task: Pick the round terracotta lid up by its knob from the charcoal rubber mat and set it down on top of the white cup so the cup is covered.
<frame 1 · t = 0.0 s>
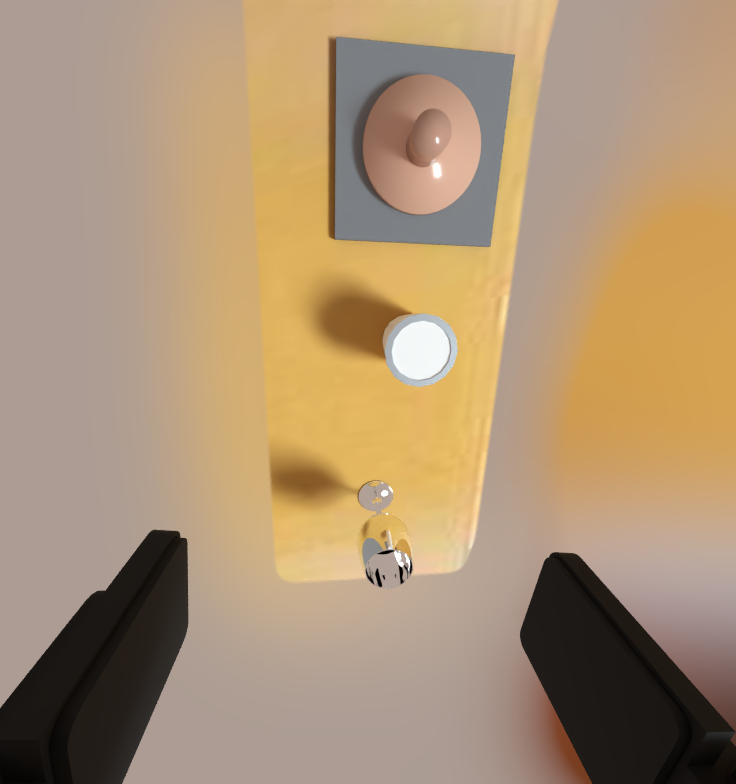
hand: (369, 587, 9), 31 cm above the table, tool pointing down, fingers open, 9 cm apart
mat: (419, 153, 34), on the table
lid: (420, 151, 33), point 1 cm above the table, touching mat
white cup: (406, 339, 39), on the table
wineglass: (375, 495, 45), on the table
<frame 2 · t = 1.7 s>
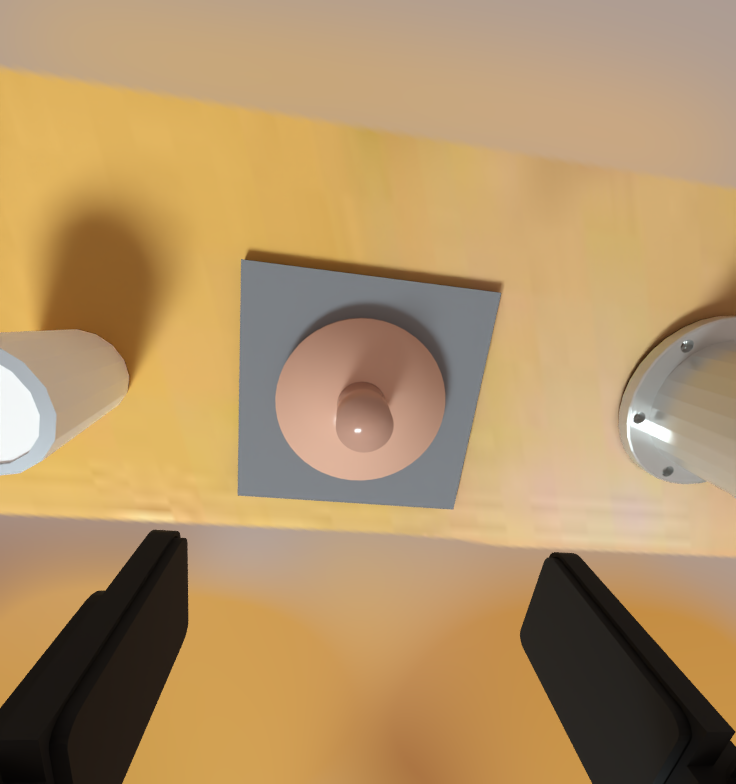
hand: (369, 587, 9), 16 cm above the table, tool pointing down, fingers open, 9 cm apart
mat: (360, 397, 24), on the table
lid: (361, 400, 24), point 1 cm above the table, touching mat
white cup: (85, 372, 23), on the table
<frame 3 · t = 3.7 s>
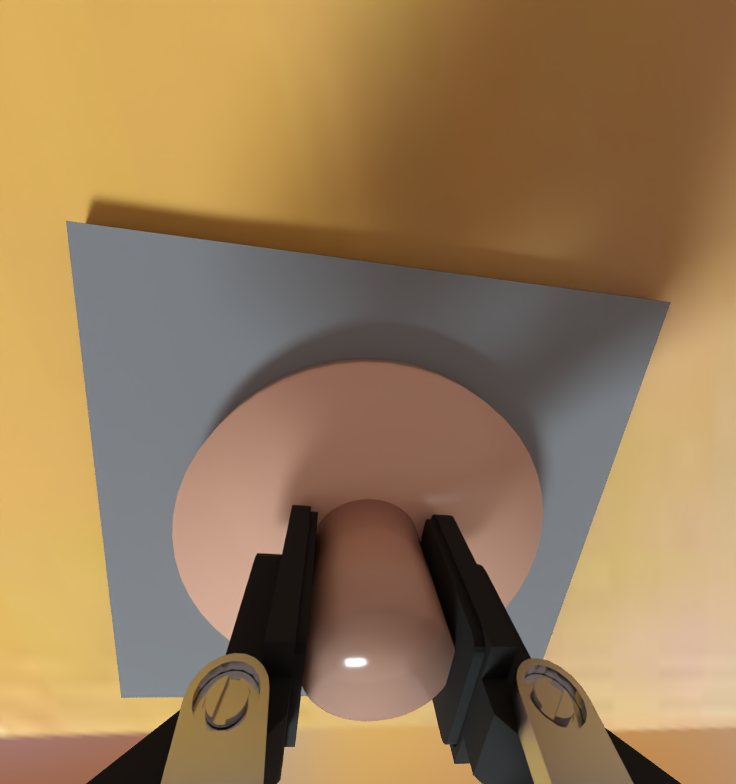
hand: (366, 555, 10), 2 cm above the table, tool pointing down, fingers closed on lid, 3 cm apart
mat: (361, 512, 12), on the table
lid: (363, 523, 11), point 1 cm above the table, touching gripper, mat
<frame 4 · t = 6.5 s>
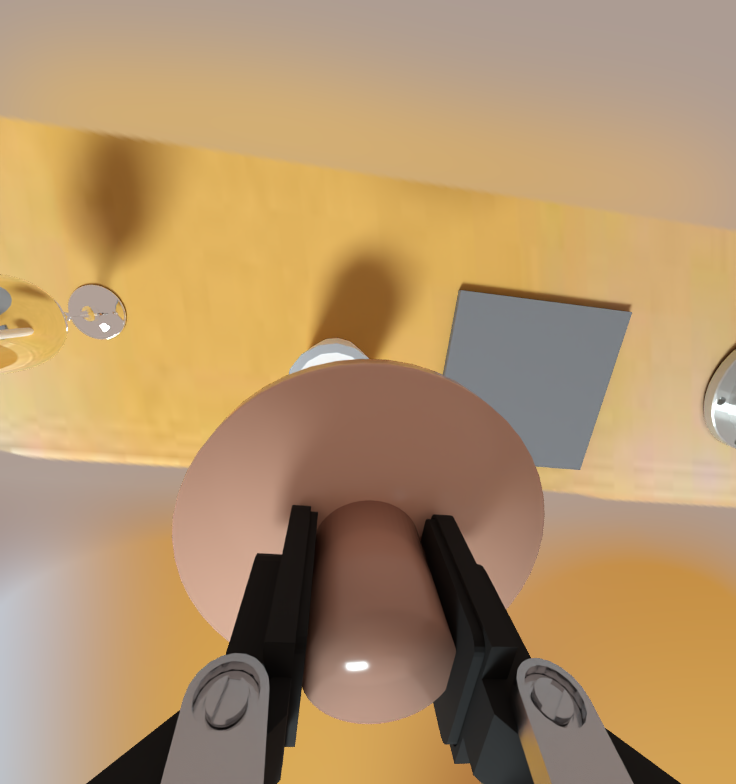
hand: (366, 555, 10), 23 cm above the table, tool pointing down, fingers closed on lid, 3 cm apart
mat: (522, 386, 33), on the table
lid: (363, 524, 11), point 21 cm above the table, touching gripper
white cup: (335, 368, 32), on the table
wineglass: (99, 312, 29), on the table
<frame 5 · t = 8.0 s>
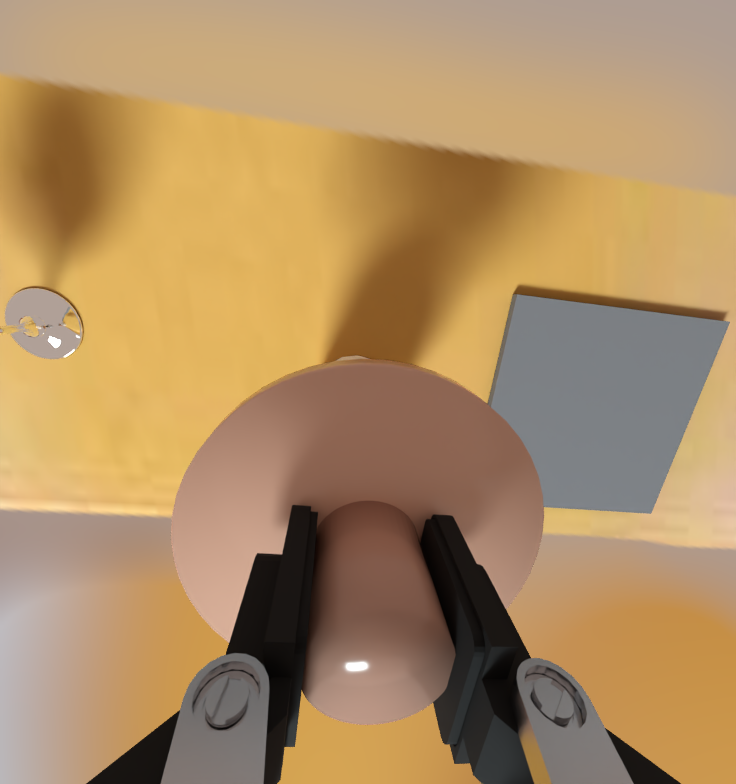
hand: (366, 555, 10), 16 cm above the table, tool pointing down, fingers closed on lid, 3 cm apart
mat: (586, 414, 27), on the table
lid: (363, 524, 11), point 14 cm above the table, touching gripper
wineglass: (47, 324, 22), on the table
when the fingers open (10 cm above the table, at t = 9.3 s): lid drops 2 cm, resting on white cup.
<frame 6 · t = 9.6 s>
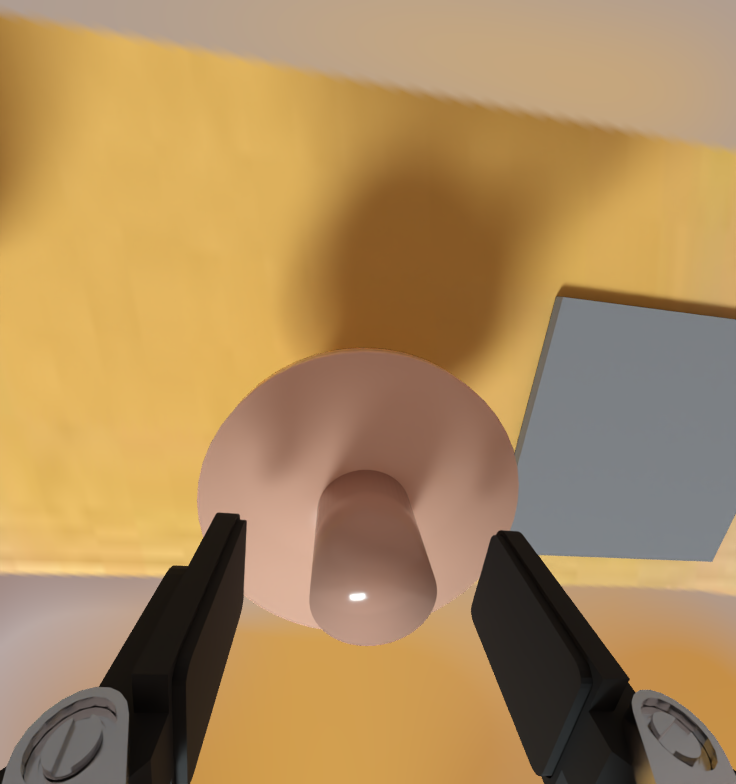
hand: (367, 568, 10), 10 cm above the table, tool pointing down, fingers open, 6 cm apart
mat: (640, 445, 22), on the table
lid: (362, 494, 13), point 7 cm above the table, touching white cup
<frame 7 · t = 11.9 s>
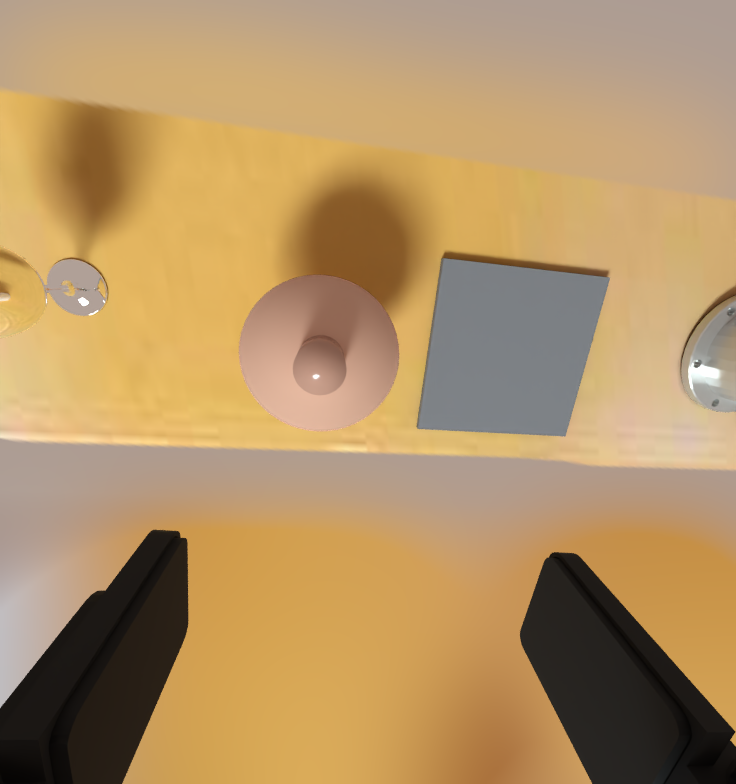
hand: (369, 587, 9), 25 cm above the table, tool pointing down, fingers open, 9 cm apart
mat: (507, 354, 34), on the table
lid: (321, 355, 25), point 7 cm above the table, touching white cup
wineglass: (79, 288, 29), on the table
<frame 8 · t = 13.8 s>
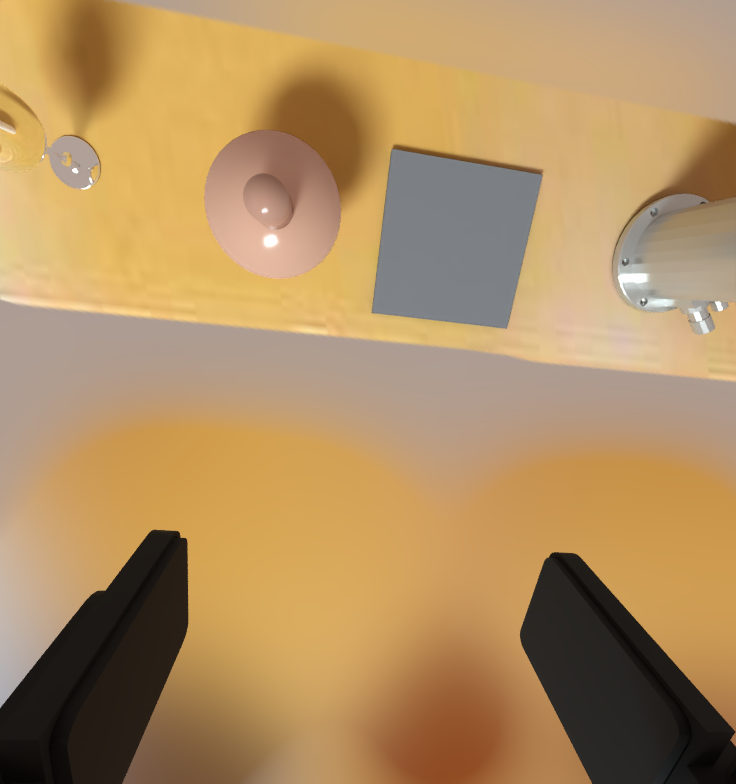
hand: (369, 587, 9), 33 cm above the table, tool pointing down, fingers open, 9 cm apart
mat: (452, 246, 38), on the table
lid: (276, 210, 30), point 7 cm above the table, touching white cup
wineglass: (76, 164, 33), on the table
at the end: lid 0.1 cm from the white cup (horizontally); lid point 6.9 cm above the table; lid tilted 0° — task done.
